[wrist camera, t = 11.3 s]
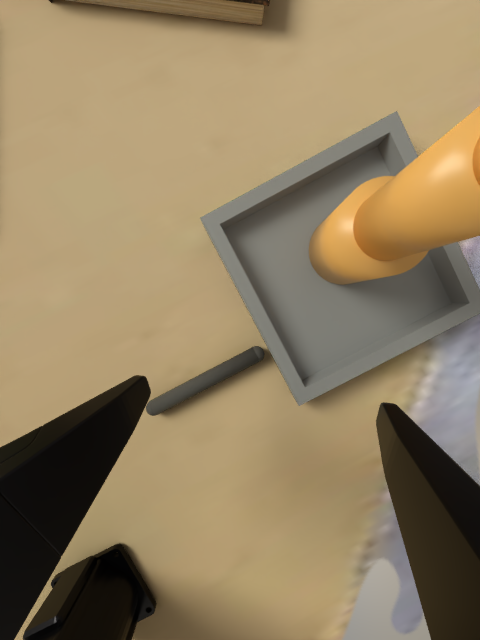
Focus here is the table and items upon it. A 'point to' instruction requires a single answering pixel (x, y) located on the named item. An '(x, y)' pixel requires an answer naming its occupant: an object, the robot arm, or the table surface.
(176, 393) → the rod
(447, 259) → the grey square tray
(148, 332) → the table surface
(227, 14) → the hardcover book
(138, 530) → the table surface
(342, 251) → the orange rounded stepped post
